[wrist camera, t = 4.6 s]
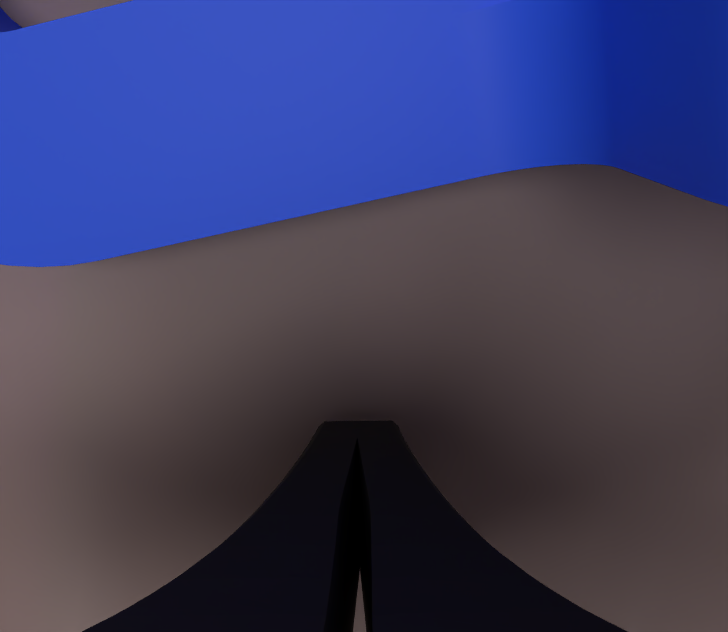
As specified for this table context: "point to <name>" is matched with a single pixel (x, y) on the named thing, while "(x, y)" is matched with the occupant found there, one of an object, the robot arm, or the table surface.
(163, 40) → the bracket
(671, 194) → the table surface
